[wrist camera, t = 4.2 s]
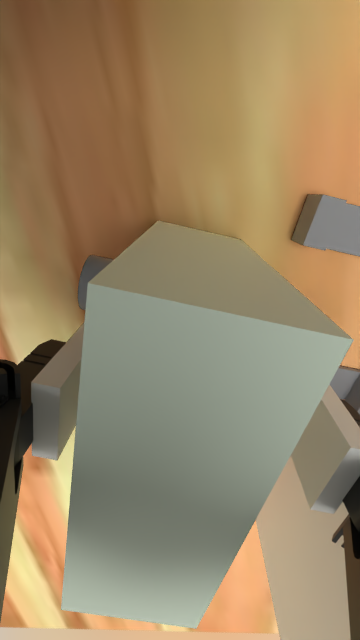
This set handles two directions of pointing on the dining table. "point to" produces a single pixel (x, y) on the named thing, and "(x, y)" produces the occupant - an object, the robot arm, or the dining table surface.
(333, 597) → the cabinet
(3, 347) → the dining table surface
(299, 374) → the door
